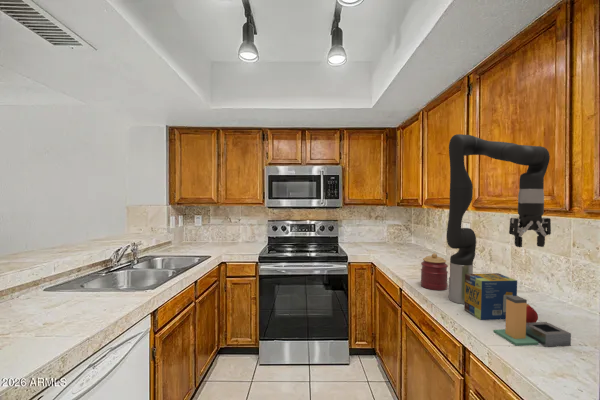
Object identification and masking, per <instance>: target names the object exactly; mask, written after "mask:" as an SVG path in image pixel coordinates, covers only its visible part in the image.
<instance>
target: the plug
mask: <svg viewBox="0 0 600 400" xmlns="http://www.w3.org/2000/svg"><path fill="white" fill-rule="evenodd" d="M527 301H528V300H527V299H526V298H523V297H522V296H518V295H517V296H506V319H505V329H506V330H505V333H506V334H507V335H509V336H511V337H512V338H514V339H522V338H526V306H527V304H528V302H527Z"/></svg>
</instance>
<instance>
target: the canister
mask: <svg viewBox="0 0 600 400" xmlns="http://www.w3.org/2000/svg"><path fill="white" fill-rule="evenodd" d="M420 265H421V268H420V272H421V273H420V279H421V280H420V286H421V287H422V288H424V289H427V290H433V291H444V290H447V289H448V287H449V282H448V273H449V272H448V269H447V268H448V267H449V265H448V264H447V260H446V259H444V258H443V257H441V256H438V255H437V253H435V252H433V253H432V254H431V255H428V256H425V257H424V258H422V262H420Z"/></svg>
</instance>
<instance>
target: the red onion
mask: <svg viewBox="0 0 600 400" xmlns="http://www.w3.org/2000/svg"><path fill="white" fill-rule="evenodd" d="M538 320H539V315H538V313H537V311H536V310H535V309H534V307H532V306H531V305H530V304H528V303H527V306H526V323H532V322H538Z"/></svg>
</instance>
